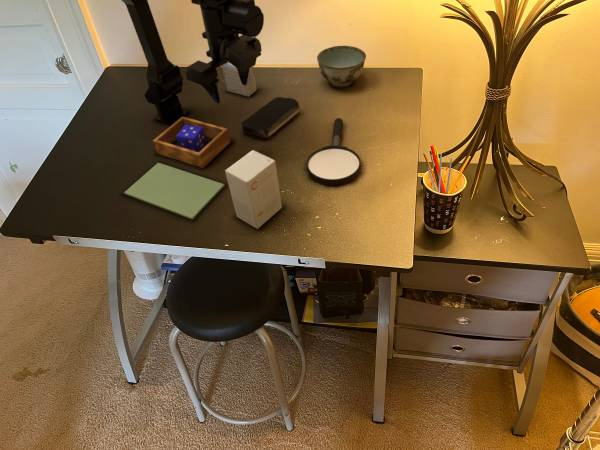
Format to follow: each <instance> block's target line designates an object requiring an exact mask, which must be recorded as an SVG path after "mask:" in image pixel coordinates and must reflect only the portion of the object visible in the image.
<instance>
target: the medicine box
mask: <svg viewBox="0 0 600 450" xmlns="http://www.w3.org/2000/svg"><path fill="white" fill-rule="evenodd" d="M221 68H222V72H223V73H222V74H223V77H224V83H225V87H226V92H228V93H232V94H235V95H240V96H243V97H248V98H249V97H250V96H251V95H252V94H254V93H255V92H257V89H258V87H257V81H256V77H255V72H254V71H255V70H254V66H252V67H251V68H250V69H249V75H248V80H247V85H243V84H242V82H241V80H240V77H239V74H238V71H237V68H236V67H235V66H233V65H232V64H231V63H229V62H228V63H227V64H225V65H223V66H222V67H221Z"/></svg>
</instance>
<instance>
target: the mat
mask: <svg viewBox="0 0 600 450" xmlns="http://www.w3.org/2000/svg"><path fill="white" fill-rule="evenodd" d="M225 187H226V185H225V184H224V183H222V182H218V181H215V180H212V179H209V178H206V177H203V176H200V175H197V174H194V173H192V172H188V171H185V170H182V169H179V168H176V167H174V166H170V165H167V164H164V163H161V162H157V163H156V164H155V165H153V167H151V168H150V169H149V170H148V171H147V172H145V173H144V174H143V175H142V176H141V177H140V178H139V179H137V180H136V181H135V182H134V183H133V184H132V185H131V186H130V187H129V188H127V189H126V190H125V191H124V192H123V194H124V195H125V196H128V197H131V198H134V199H136V200H139V201H141V202H144V203H147V204H149V205H151V206H153V207H157V208H160V209H162V210H165V211H168V212H170V213H173V214H175V215H178V216H181V217H183V218H186V219H189V220H191V221H193V220H194V219H195V218H196V217H197V216H198V215H199V214H200V213H201V212H202V211H203V210H204V209H205V208H206V207H207V205H208V204H209V203H210V202H212V201H213V199H214V198H215V197H216V196H217V195H218V194H219V193H220V192H221V191H222V190H223V189H224V188H225Z"/></svg>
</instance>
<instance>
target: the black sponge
mask: <svg viewBox="0 0 600 450" xmlns="http://www.w3.org/2000/svg"><path fill="white" fill-rule="evenodd" d="M299 112H300V104H299V102H298V100H296V99H295V98H292V97H282V96H281V97H280V96H277V97H275V98H273V99H271V100H270V101H269V102H267V103H266V104H264V105H263V106H262V107H261V108H259V109H258V110H257V111H255V112H254V113H252V114H251V115H250V116H248V118H245V119H244V120H242V121H241V123H240V125H241V128H242V131H243V132H244V133H245V134H249V135H253V136H256V137H258V138H259V137H260V138H269V137H271V136H272V135H273V134H275V133H276V132H277V131H278V130H279V129H280V128H282V127H283V126H284V125H285V124H286V123H288V122H289V121H290V120H291V119H292V118H294V116H296V115H297V114H298V113H299Z"/></svg>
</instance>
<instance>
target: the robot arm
mask: <svg viewBox="0 0 600 450" xmlns="http://www.w3.org/2000/svg"><path fill="white" fill-rule="evenodd" d="M120 1H121V2H122V3H124V5H125V7H126V9H127V12H128V15H129V17H130V19H131V23H132V25H133V28H134V30H135V33H136V36H137V38H138V41H139V44H140V46H141V49H142V52H143V55H144V57H145V60H146V62H147V68H146V75H145V79H146V81H147V85H148V87H147V89H146V91H145V93H144V94H143V96H144V98H145V100H146V101H147V103H148V104H151V105H154V106H155V109H156V112H157V116H156V117H154V120H155V121H157V122H161V123H164V124H168V125H170V126H171V125H173V124H174V123H175V122H176V121H177V120H179V119H180V118H181V117H186V115H187V114H188V111H187V110H183V107H182V104H181V101H180V100H179V96H178V94H180V93H182V92H183V85H184V81H183V80H184V77H183V75H182V72H181V68H180V66H178V65H176V64H174V63H173V62H172V61H170V60H169V58H168V56H167V52H166V50H165V47H164V44H163V42H162V39H161V36H160V32H159V30H158V27H157V24H156V21H155V19H154V16H153V13H152V10H151V6H150V4H149V1H148V0H120ZM190 2H191V4H193V5H198V6H199V8H200V12H201V18H202V22H203V27H204V31H203V32H201V36H202V38H203V39H206V42H207V45H208V46H207V47H208V50H207V51H205V54H206V57H208V58H210V59H211V60H210V61H208V62H204V61H201V60H200V59H199V60H196V61H195V62H193V63H191V64H190V65H188V66H187V67H186V68H185V69H184V73H185V77H186V80H187V81H189V82H192V83H195V84H197V85H199V86H202V88H203V89H204V90H205V91H206V92H207V94H208V96H209V97H210V98H211V99H212V100H213V101H214V103H215V104H220V102H221V101H220V94H219V89H218V83H219V82H220V78H218V76H219V74H218V70H219V69H220V68H222V66H223V65H225V64H227V63H228V62H229V63H231V64H232V65H233V66H235V67H236V68H237V71H238V74H239V77H240V80H241V82H242V84H243V85H247V80H248V75H249V69H250V68H251V67H252V66H253V67H256V65H257V58H260V56H262V52H263V51H262V44H261V41H260V39H259V38H257V37H258V36H259V35H260V34H261V32H262V31H263V27H264V22H265V15H264V13H263V11H262V9H261V7H260V6H258V5H256V2H255V0H190Z"/></svg>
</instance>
